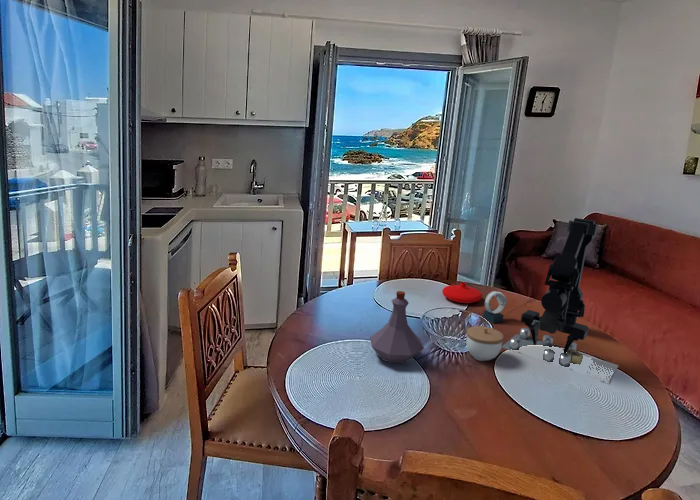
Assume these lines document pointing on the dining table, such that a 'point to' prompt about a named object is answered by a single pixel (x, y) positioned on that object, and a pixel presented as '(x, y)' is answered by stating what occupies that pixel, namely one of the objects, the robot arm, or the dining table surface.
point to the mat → (530, 342)
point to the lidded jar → (484, 342)
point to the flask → (397, 335)
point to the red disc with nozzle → (462, 293)
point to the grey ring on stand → (495, 315)
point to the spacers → (547, 341)
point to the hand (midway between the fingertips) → (549, 349)
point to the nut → (575, 357)
